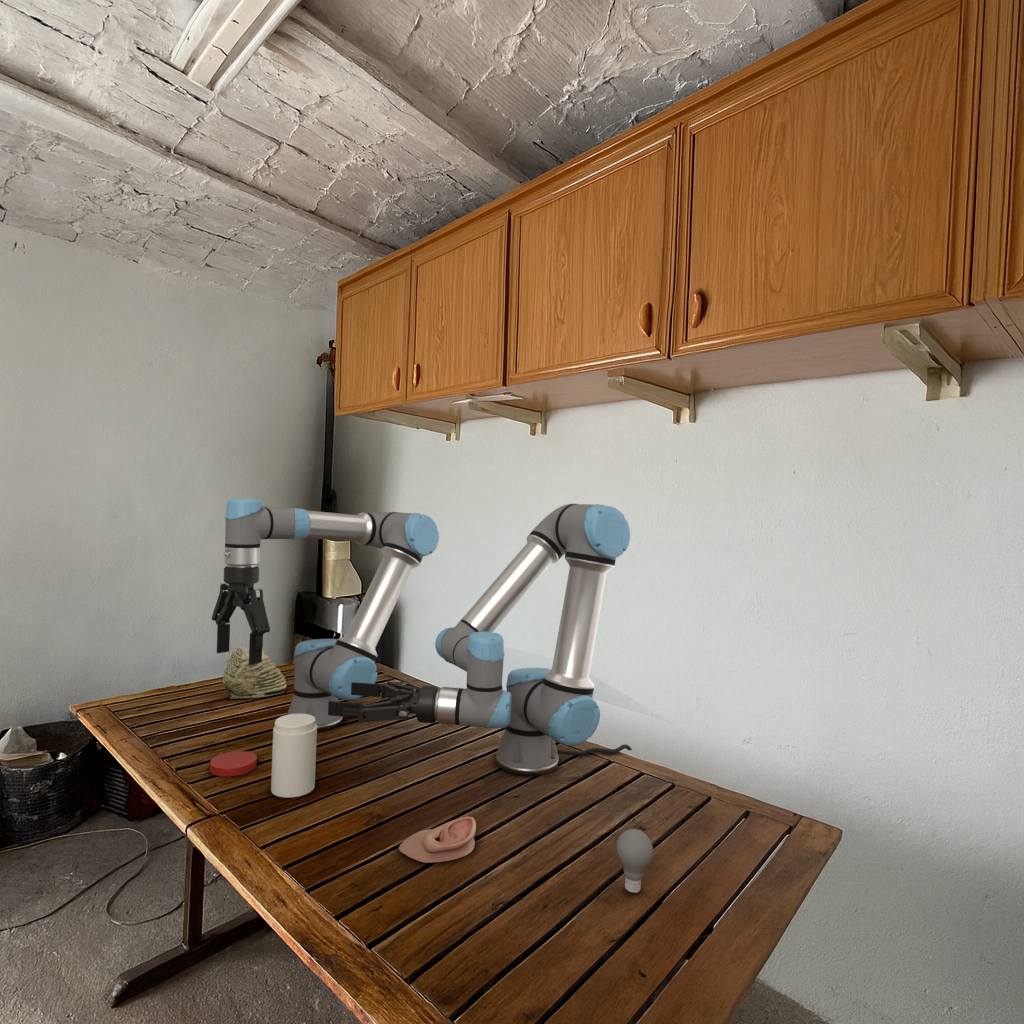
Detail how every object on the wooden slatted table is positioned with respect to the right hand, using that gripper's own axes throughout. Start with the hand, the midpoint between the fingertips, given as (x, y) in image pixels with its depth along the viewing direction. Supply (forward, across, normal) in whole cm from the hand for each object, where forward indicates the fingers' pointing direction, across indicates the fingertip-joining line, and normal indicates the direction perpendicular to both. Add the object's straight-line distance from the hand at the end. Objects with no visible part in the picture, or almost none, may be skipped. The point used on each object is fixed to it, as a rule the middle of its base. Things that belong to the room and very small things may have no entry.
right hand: (340, 697), depth 136 cm
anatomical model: (-26, -18, -20) cm, 37 cm away
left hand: (+27, +8, +5) cm, 29 cm away
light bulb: (-60, -25, -20) cm, 69 cm away
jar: (+10, 0, -20) cm, 23 cm away
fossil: (+48, +58, -20) cm, 78 cm away
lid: (+27, +7, -19) cm, 34 cm away
